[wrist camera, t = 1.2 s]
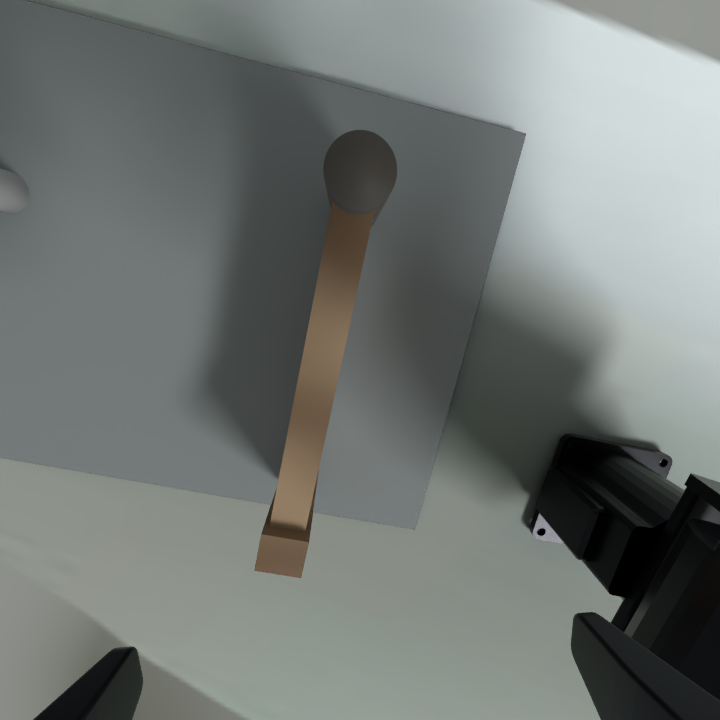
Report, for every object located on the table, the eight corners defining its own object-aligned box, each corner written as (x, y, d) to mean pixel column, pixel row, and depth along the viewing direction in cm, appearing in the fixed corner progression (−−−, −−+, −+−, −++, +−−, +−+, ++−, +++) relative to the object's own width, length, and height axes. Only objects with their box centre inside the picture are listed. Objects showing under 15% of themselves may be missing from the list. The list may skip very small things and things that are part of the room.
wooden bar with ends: (336, 177, 17) (331, 121, 11) (383, 189, 18) (405, 140, 11) (276, 486, 21) (246, 579, 14) (317, 493, 21) (304, 589, 14)
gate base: (520, 138, 18) (624, 56, 12) (413, 523, 22) (442, 630, 16) (-11, -3, 16) (-266, -204, 10) (-21, 447, 21) (-204, 532, 14)
